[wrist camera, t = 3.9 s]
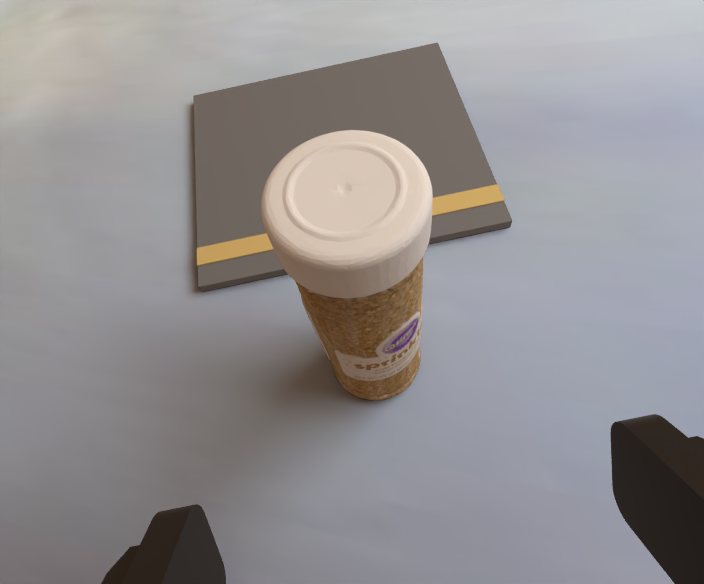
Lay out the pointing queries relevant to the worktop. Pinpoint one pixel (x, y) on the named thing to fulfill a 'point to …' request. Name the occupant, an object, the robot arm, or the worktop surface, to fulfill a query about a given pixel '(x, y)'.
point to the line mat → (322, 118)
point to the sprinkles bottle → (355, 251)
